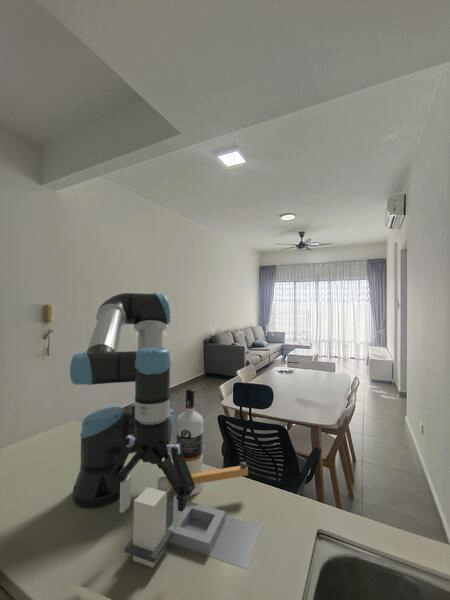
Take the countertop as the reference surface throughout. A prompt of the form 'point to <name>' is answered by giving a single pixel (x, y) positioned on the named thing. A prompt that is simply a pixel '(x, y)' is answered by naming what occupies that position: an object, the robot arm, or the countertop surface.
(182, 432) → the vodka
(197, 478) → the orange knobbed bar
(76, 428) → the countertop surface
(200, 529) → the socket block
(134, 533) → the plug
